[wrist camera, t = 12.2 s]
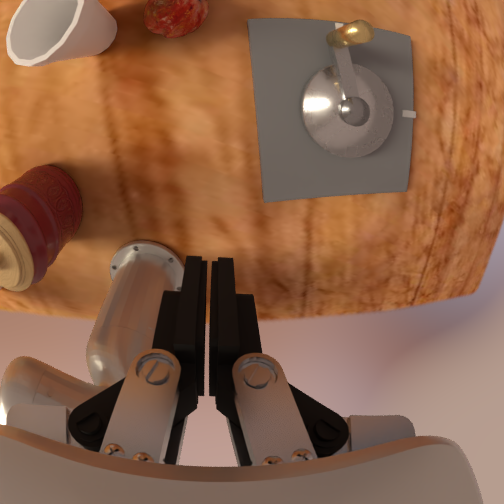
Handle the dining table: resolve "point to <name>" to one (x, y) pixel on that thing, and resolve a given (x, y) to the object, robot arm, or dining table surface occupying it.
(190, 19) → the pomegranate
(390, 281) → the dining table surface
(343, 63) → the crank handle
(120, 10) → the dining table surface
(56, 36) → the foam cup
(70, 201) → the canister
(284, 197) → the base
